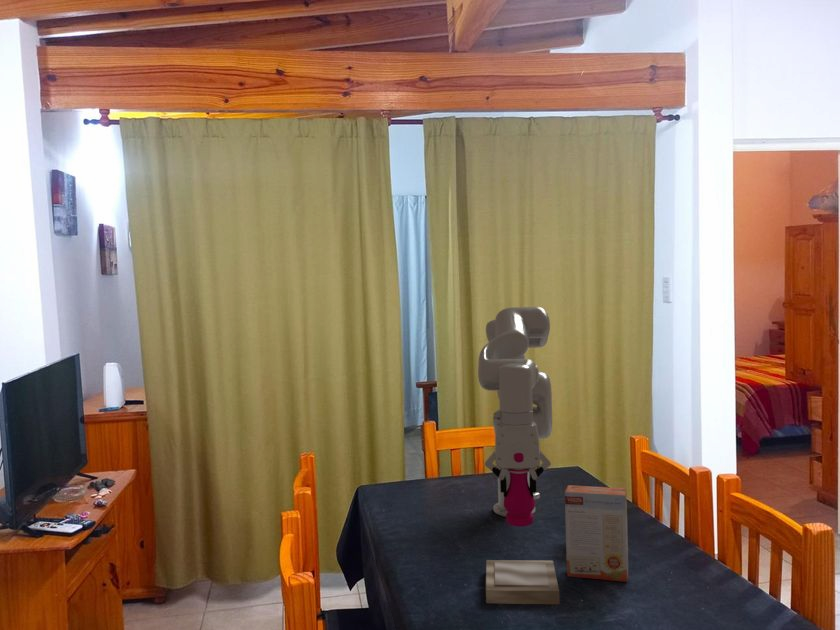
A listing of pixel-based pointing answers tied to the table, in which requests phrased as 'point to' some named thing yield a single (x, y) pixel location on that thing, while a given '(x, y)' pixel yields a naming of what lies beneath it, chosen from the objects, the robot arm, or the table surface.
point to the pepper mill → (519, 497)
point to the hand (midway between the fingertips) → (518, 494)
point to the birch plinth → (521, 582)
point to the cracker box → (596, 532)
